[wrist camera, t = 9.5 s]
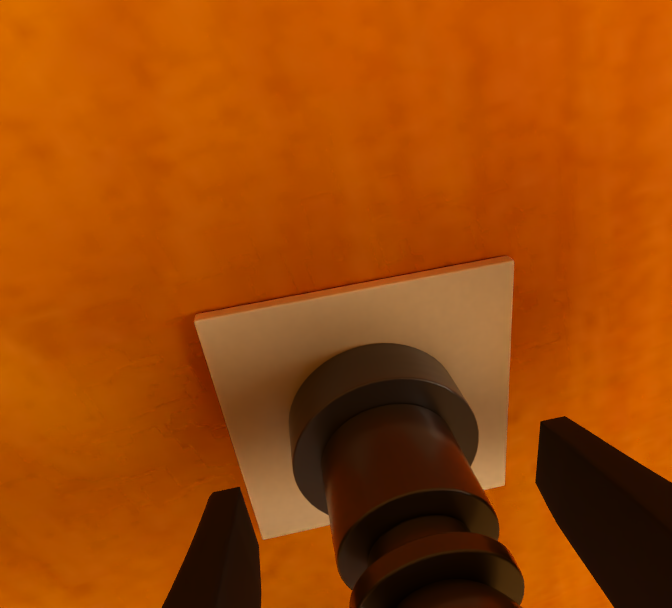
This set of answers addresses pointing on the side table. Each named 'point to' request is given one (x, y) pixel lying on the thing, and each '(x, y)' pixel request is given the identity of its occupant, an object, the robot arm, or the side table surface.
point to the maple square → (346, 333)
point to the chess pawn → (400, 482)
